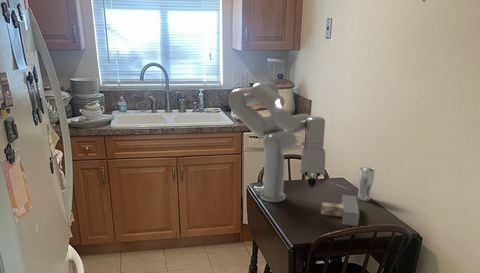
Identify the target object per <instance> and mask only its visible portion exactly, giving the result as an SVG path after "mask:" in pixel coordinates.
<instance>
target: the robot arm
mask: <svg viewBox="0 0 480 273" xmlns="http://www.w3.org/2000/svg"><path fill="white" fill-rule="evenodd" d="M285 102H286V101H285V98H284V97H283V96H282V95H280V94H279V88H278V86H277V85H276V84H275V83H274V82H272V81H265V82H256V83H255V84H253V85H252V86H250V87H239V88H235V89H233V90H232V91H230V93H229V95H228V105H229V108H230V110H231V112H232V114H234V115H235V117H237V118H238V119H239V120H240V121H241V122H242V123H243V124H244V125H245V126H246V127H247V128H248V129H249V130H250V132H252V133H253V134H254V135H255V136H256V137H257V138H264V139H263V153H264V154H263V155H264V163H263V164H264V165H263V168H264V169H263V180H262V181H263V183H262V186H253V191H255V192H256V193H259V198H260V199H261V200H262V201H265V202H269V203H281V202H283V201H285V200H286V198H287V194H285V193H284V181H285V180H284V179H285V168H286V167H285V166H286V165H285V164H286V161H285V157H284V153H283V152H286V151H289V150H293V149H294V148H295V146H296V145H297V136H296V135H295V134H297V133H301V132H305V141H303V142H302V143H301V146H303V149H302V153H301V159H300V170H299V172H300V174H304V175H305V176H306V177H307V178H308V179H307V180H308V181H307V185H308V186H309V188H312V189H313V188H314V186H316V179H317V178H318V177H320V176H325V175H326V169H325V168H326V150H325V149H324V142H325V127H326V120H325V118H324V117H323V116H322V117H321V116H314V115H311V114H307V113H299V114H295V115H292V114H291V113H289V112H288V111H286V110H285V109H284V108H283V107H284V105H285ZM254 104H260V105H261V106H263V107H264V108H265V109H266V110H268V111H269V112H270V113H271V115H268V116H263V115H261V113H259V112H258V111H257V110H256V109H255V108H254V107H252V106H250V105H254ZM312 174H313V175H312Z"/></svg>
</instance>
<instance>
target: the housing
mask: <svg viewBox="0 0 480 273" xmlns="http://www.w3.org/2000/svg"><path fill="white" fill-rule="evenodd" d="M357 199H358V198H357V196H355V195H348V194H342V196H341V203H340V204H342V205H343V216H342V217H341V219H342V220H343V221H342V220H341V221H342V225H343V224H344V225H343V226H350V225H351V226H353V227H359V220H360V210H359V204H358V200H357ZM351 226H350V227H351Z"/></svg>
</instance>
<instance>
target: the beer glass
mask: <svg viewBox="0 0 480 273" xmlns="http://www.w3.org/2000/svg"><path fill="white" fill-rule="evenodd" d="M374 178H375V169H374V168H371V167H366V166H364V167H362V166H361V167H360V168H359V172H358V182H357V183H358V194H357V196H356V199H358V200H359V201H363V202H370V200H371V191H372V188H373V185H374V181H375V180H374Z"/></svg>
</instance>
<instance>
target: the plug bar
mask: <svg viewBox="0 0 480 273" xmlns="http://www.w3.org/2000/svg"><path fill="white" fill-rule="evenodd" d="M320 215H325V216H332V217H339V216H340V218H342V216H343V205H342V204H341V203H332V202H324V201H322V202H321V208H320Z"/></svg>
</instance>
